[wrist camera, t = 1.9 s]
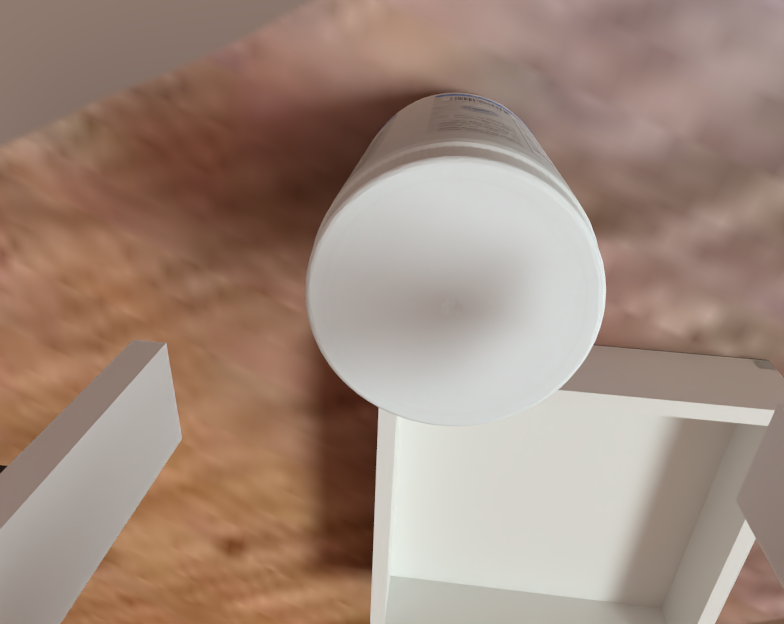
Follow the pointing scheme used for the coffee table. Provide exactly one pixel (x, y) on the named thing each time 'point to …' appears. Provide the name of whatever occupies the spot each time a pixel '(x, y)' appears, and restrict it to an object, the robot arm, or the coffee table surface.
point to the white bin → (576, 499)
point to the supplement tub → (455, 268)
